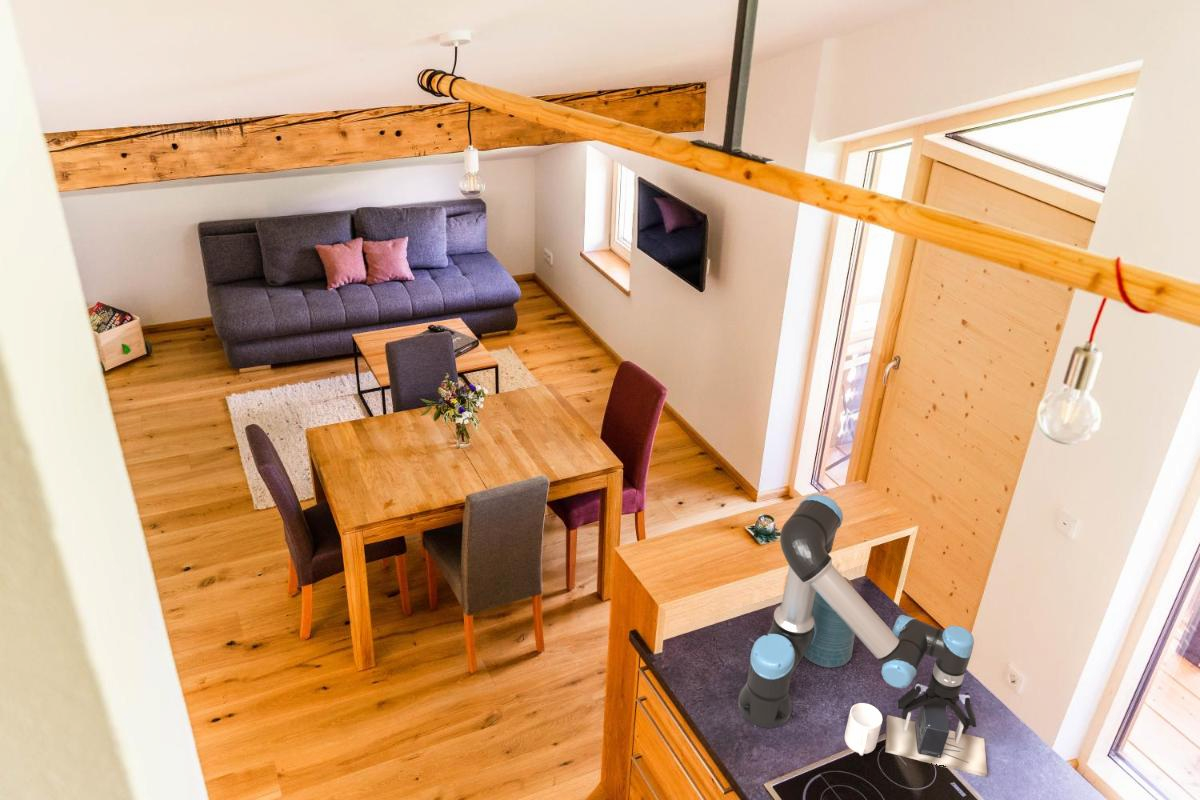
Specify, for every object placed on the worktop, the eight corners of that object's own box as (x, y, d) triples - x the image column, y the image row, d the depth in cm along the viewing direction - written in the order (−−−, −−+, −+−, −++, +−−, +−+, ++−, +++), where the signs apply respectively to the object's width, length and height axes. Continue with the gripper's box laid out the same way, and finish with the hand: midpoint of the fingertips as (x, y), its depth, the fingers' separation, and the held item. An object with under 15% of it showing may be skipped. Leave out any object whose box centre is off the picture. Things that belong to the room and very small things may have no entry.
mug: (843, 761, 241) (849, 733, 236) (844, 726, 251) (850, 699, 246) (875, 768, 239) (883, 741, 234) (875, 733, 249) (882, 706, 244)
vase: (787, 648, 277) (798, 582, 264) (818, 624, 287) (831, 559, 274) (831, 678, 267) (845, 611, 254) (861, 652, 276) (877, 586, 263)
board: (885, 751, 244) (886, 748, 243) (886, 718, 254) (887, 714, 253) (985, 777, 237) (987, 773, 237) (982, 742, 247) (984, 738, 247)
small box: (942, 759, 240) (950, 732, 235) (917, 754, 241) (925, 727, 236) (938, 728, 249) (946, 702, 244) (914, 723, 250) (921, 697, 245)
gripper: (897, 676, 233) (883, 731, 244) (998, 699, 227) (979, 755, 237) (898, 656, 239) (884, 711, 250) (996, 678, 233) (977, 734, 244)
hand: (930, 733), depth 244 cm, fingers open, 13 cm apart
